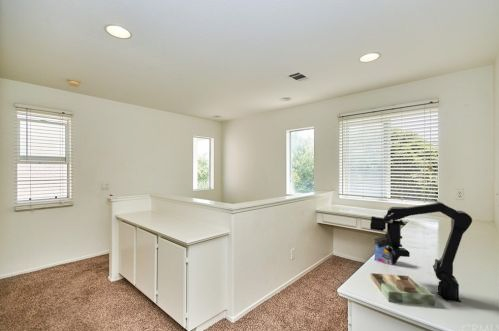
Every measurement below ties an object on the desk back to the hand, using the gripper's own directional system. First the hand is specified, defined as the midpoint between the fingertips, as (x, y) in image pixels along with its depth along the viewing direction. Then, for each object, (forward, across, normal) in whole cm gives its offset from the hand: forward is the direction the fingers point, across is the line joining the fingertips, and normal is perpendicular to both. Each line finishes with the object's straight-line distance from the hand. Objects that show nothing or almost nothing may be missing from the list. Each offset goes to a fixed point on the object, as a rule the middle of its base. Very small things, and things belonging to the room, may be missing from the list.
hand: (393, 264), depth 116 cm
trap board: (+10, +6, 0) cm, 12 cm away
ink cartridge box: (+10, -29, +8) cm, 32 cm away
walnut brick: (+8, +12, 0) cm, 14 cm away
